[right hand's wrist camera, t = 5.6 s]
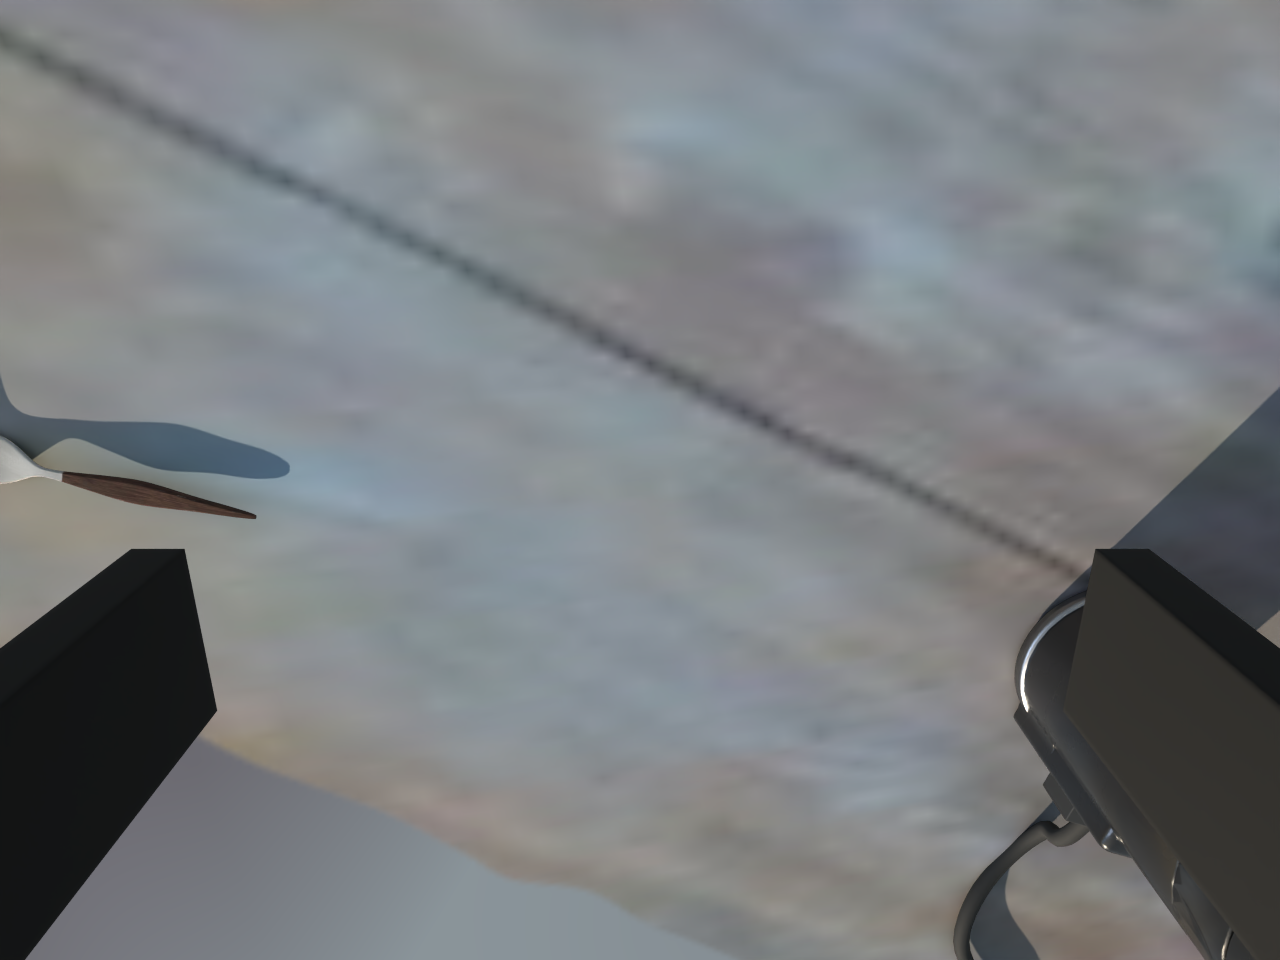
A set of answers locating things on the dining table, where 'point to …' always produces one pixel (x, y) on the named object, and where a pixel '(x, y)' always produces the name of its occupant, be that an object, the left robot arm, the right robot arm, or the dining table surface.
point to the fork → (109, 485)
